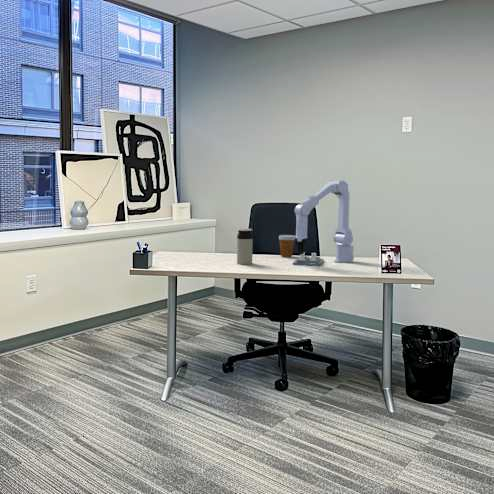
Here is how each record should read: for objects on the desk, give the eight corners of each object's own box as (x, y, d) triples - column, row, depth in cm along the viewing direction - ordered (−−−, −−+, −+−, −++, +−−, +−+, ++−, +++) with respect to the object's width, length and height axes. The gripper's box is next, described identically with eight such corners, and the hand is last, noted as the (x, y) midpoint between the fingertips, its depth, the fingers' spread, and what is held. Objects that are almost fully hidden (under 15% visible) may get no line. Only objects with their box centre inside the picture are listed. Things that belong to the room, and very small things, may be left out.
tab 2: (316, 260, 295) (316, 252, 295) (315, 262, 291) (315, 253, 291) (311, 260, 296) (312, 252, 295) (310, 261, 292) (311, 253, 291)
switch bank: (323, 261, 305) (323, 256, 304) (320, 266, 287) (320, 261, 287) (297, 259, 308) (298, 255, 308) (292, 264, 291) (293, 260, 290)
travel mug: (250, 265, 289) (251, 230, 286) (235, 264, 290) (235, 229, 288) (253, 262, 296) (254, 228, 294) (238, 262, 298) (239, 228, 296)
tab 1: (305, 260, 297) (305, 252, 296) (304, 261, 293) (304, 253, 292) (300, 260, 297) (300, 252, 297) (299, 261, 294) (299, 253, 293)
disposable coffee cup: (274, 256, 320) (275, 235, 319) (287, 255, 326) (287, 234, 324) (285, 258, 313) (286, 237, 311) (298, 257, 318) (298, 236, 317)
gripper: (296, 226, 296) (295, 251, 298) (291, 228, 282) (291, 255, 284) (309, 226, 294) (308, 252, 296) (305, 229, 280) (305, 256, 282)
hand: (300, 254), depth 290 cm, fingers closed
